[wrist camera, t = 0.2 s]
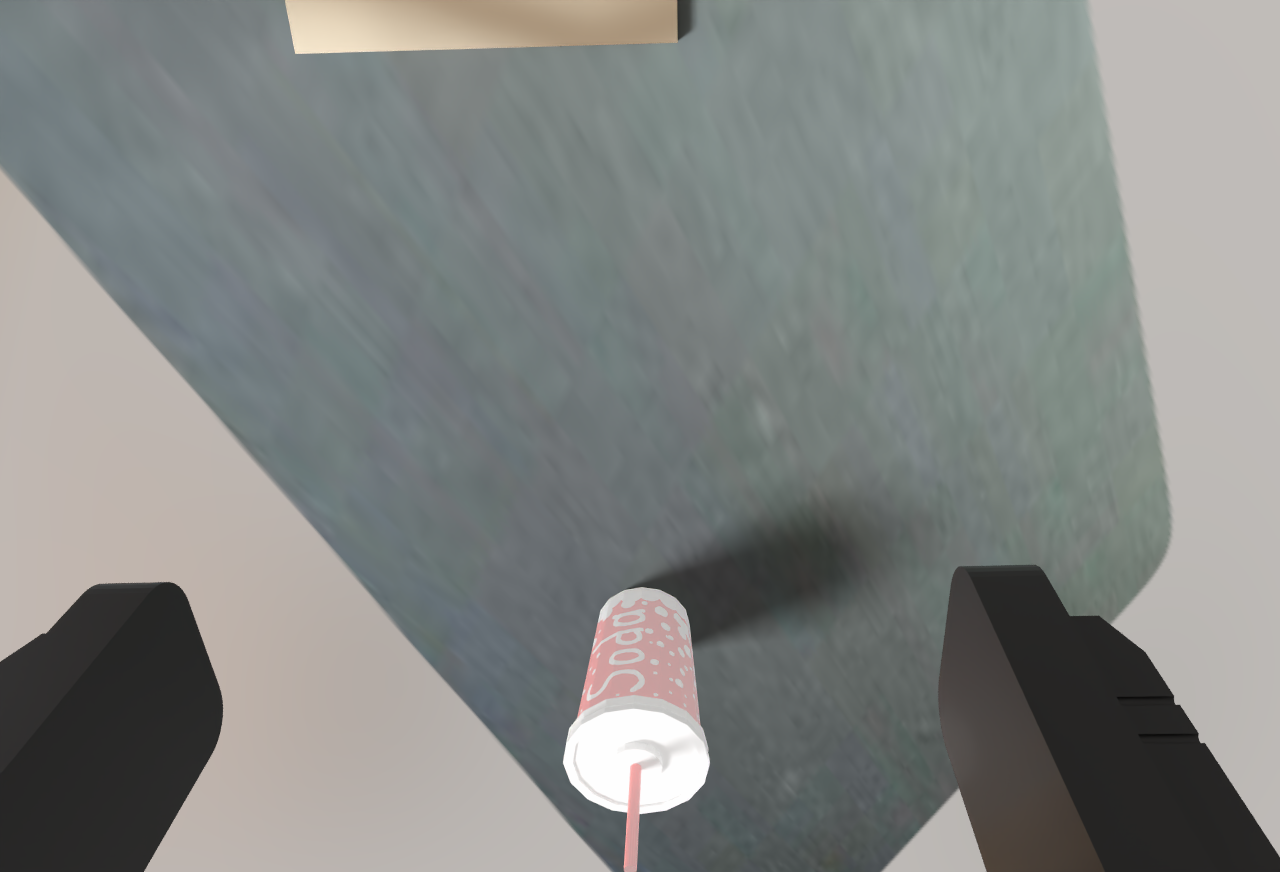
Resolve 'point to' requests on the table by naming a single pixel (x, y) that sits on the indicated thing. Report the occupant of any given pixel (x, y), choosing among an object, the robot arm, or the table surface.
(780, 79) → the table surface
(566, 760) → the beverage cup
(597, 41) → the wooden stand
